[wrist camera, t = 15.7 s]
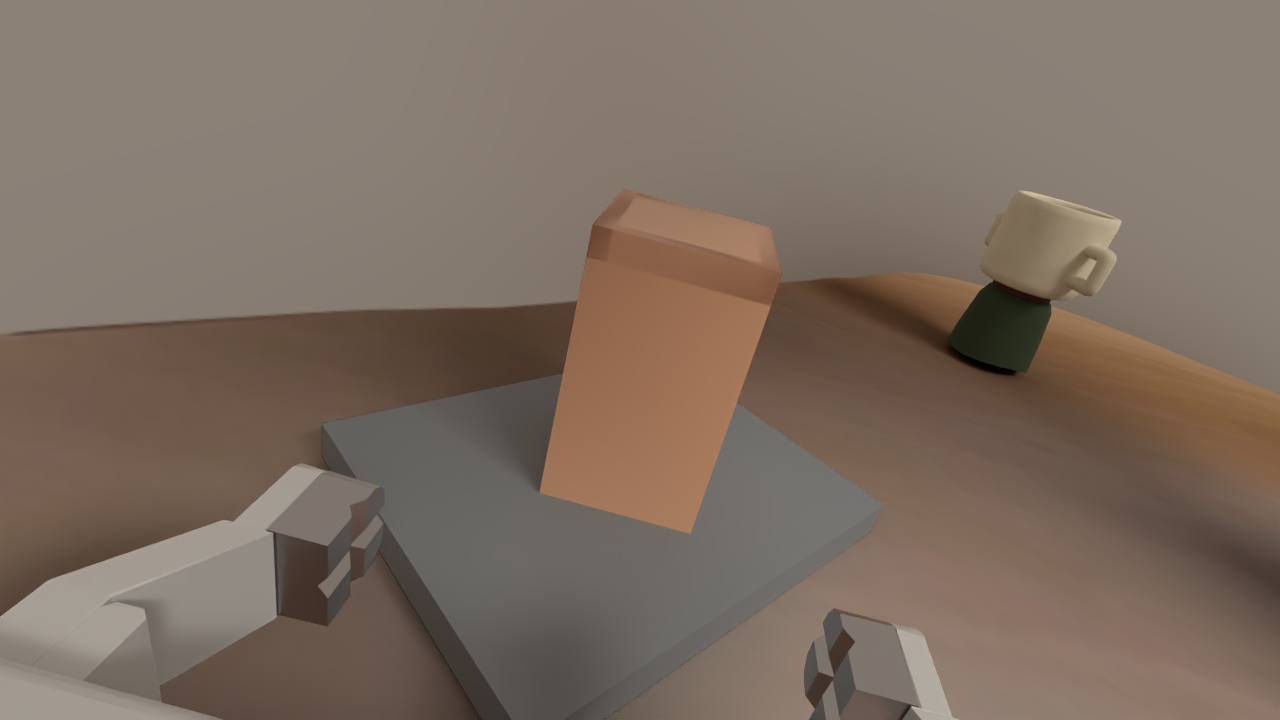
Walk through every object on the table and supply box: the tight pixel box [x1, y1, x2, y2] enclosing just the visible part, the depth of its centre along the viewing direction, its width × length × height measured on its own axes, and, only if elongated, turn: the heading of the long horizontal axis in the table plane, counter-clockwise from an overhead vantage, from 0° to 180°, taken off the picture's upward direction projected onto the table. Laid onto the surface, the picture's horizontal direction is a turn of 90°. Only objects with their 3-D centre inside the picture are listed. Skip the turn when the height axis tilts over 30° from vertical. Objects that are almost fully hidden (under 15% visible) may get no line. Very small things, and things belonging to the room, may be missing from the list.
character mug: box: [948, 191, 1122, 373], centre depth 48 cm, size 11×7×13 cm, turn 12°
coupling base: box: [322, 373, 885, 720], centre depth 23 cm, size 18×14×9 cm
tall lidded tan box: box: [539, 189, 782, 534], centre depth 23 cm, size 6×6×10 cm
